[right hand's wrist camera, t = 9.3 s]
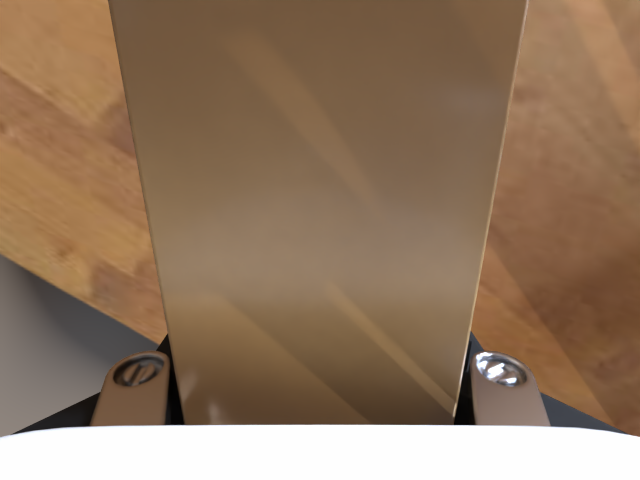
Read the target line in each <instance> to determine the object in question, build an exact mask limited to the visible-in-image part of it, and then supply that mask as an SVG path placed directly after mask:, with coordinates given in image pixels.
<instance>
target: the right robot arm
mask: <svg viewBox="0 0 640 480" xmlns="http://www.w3.org/2000/svg"><path fill="white" fill-rule="evenodd" d="M0 480H640V437H637V436H632V435H629V434H627V433H625V432H623V431H621V430H618V429H616V428H614V427H612V426H610V425H608V424H606V423H604V422H602V421H600V420H598V419H595V418H593V417H591V416H589V415H587V414H585V413H583V412H581V411H579V410H577V409H574V408H572V407H570V406H568V405H566V404H564V403H562V402H560V401H558V400H556V399H554V398H551V397H549V396H547V395H545V394H543V393H541V392H539V389H538V386H537V383H536V380H535V377H534V375H533V373H532V371H531V370H530V369H529V368H528V367H527V366H526V365H525V364H524V363H523V362H521V361H520V360H518V359H516V358H514V357H512V356H510V355H508V354H504V353H501V352H496V351H484V350H483V348H482V347H481V345H480V344H479V342H478V341H477V339H476V338H475V336H474V335H473V333H472V332H471V330H470V336H469V341H468V347H467V353H466V358H465V364H464V369H463V375H462V381H461V386H460V392H459V398H458V403H457V409H456V414H455V420H454V425H184V420H183V414H182V408H181V403H180V397H179V392H178V386H177V381H176V375H175V370H174V364H173V358H172V353H171V347H170V342H169V336H168V334H167V335H166V337H165V338H164V340H163V341H162V343H161V344H160V346H159V347H158V349H157V350H156V351H144V352H139V353H136V354H132V355H130V356H128V357H126V358H124V359H122V360H121V361H119V362H117V363H116V364H115V365H114V366H113V367H112V368H111V369H110V370H109V371H108V373H107V375H106V377H105V380H104V383H103V386H102V389H101V392H99V393H97V394H95V395H93V396H91V397H89V398H87V399H85V400H83V401H80V402H78V403H76V404H74V405H72V406H70V407H68V408H66V409H64V410H62V411H60V412H57V413H55V414H53V415H51V416H49V417H47V418H45V419H43V420H41V421H38V422H36V423H34V424H32V425H30V426H28V427H26V428H24V429H22V430H20V431H17V432H15V433H13V434H11V435H8V436H3V437H0Z"/></svg>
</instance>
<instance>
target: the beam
mask: <svg viewBox="0 0 640 480" xmlns="http://www.w3.org/2000/svg"><path fill="white" fill-rule="evenodd" d="M108 3H109V8H110V14H111V19H112V25H113V31H114V36H115V42H116V47H117V53H118V58H119V64H120V69H121V75H122V81H123V86H124V92H125V97H126V103H127V108H128V114H129V119H130V125H131V131H132V136H133V142H134V147H135V153H136V158H137V164H138V169H139V175H140V181H141V186H142V192H143V197H144V203H145V208H146V214H147V219H148V225H149V231H150V236H151V242H152V247H153V253H154V258H155V264H156V270H157V275H158V281H159V286H160V292H161V297H162V303H163V308H164V314H165V320H166V325H167V331H168V336H169V342H170V347H171V353H172V358H173V364H174V370H175V375H176V381H177V386H178V392H179V397H180V403H181V408H182V414H183V420H184V425H454V420H455V414H456V409H457V403H458V398H459V392H460V386H461V381H462V375H463V369H464V364H465V358H466V353H467V347H468V341H469V336H470V330H471V325H472V319H473V313H474V308H475V302H476V297H477V291H478V285H479V280H480V274H481V269H482V263H483V257H484V252H485V246H486V240H487V235H488V229H489V224H490V218H491V212H492V207H493V201H494V196H495V190H496V184H497V179H498V173H499V168H500V162H501V156H502V151H503V145H504V139H505V134H506V128H507V123H508V117H509V111H510V106H511V100H512V95H513V89H514V83H515V78H516V72H517V67H518V61H519V55H520V50H521V44H522V39H523V33H524V27H525V22H526V16H527V10H528V5H529V0H108Z"/></svg>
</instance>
